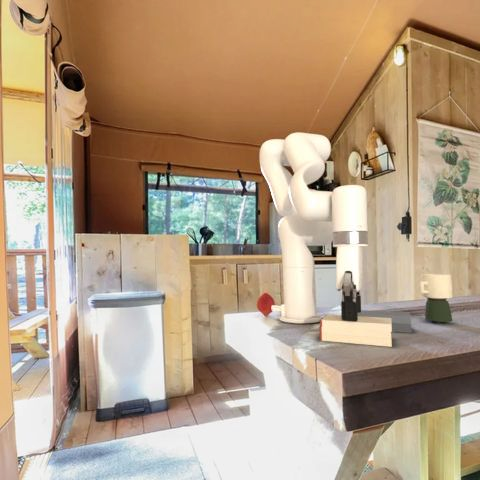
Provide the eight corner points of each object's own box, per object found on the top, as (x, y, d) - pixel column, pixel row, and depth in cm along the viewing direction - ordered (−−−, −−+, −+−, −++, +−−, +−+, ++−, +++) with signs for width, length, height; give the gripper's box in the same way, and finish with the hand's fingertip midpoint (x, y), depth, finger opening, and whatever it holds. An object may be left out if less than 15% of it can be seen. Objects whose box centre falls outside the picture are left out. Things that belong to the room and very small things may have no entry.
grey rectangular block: (351, 329, 78) (351, 313, 78) (353, 324, 83) (353, 309, 83) (411, 333, 72) (410, 315, 72) (409, 328, 77) (408, 312, 77)
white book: (319, 326, 67) (319, 319, 67) (326, 320, 74) (325, 314, 74) (391, 331, 61) (391, 324, 61) (391, 324, 67) (391, 317, 68)
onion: (275, 314, 101) (274, 290, 102) (275, 317, 96) (274, 291, 96) (257, 314, 102) (256, 290, 103) (257, 317, 96) (256, 292, 97)
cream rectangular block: (319, 340, 67) (319, 326, 67) (325, 333, 74) (325, 320, 74) (391, 347, 61) (390, 331, 61) (391, 338, 67) (390, 324, 67)
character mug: (441, 318, 88) (438, 273, 89) (466, 323, 81) (462, 274, 82) (411, 321, 85) (408, 274, 86) (434, 326, 78) (431, 275, 79)
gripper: (338, 241, 79) (339, 308, 78) (326, 239, 63) (328, 323, 63) (369, 241, 76) (371, 310, 75) (365, 238, 60) (367, 326, 59)
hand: (351, 316), depth 69 cm, fingers open, 9 cm apart
